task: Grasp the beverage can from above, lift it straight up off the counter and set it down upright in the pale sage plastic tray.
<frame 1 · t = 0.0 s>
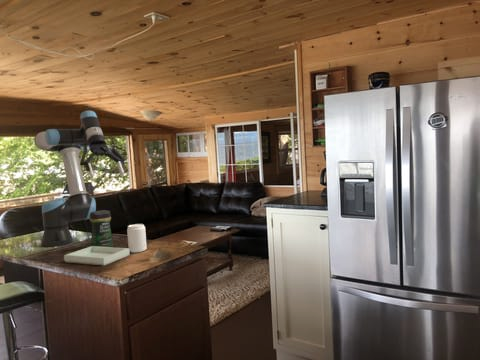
hand: (107, 175, 174), 36 cm above the countertop, tool tilted 35°, fingers open, 13 cm apart
tray: (97, 258, 171), on the countertop
beverage can: (137, 251, 181), on the countertop
coffee jar: (102, 248, 190), on the countertop
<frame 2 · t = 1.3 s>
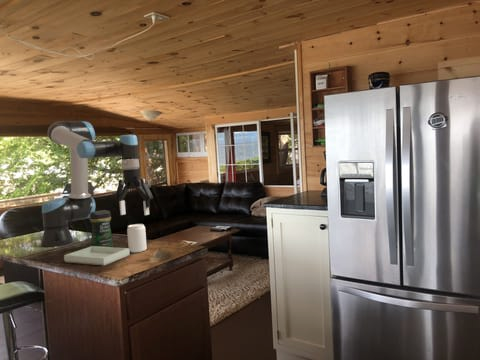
hand: (134, 214, 179), 17 cm above the countertop, tool pointing down, fingers open, 13 cm apart
nothing on the countertop moved.
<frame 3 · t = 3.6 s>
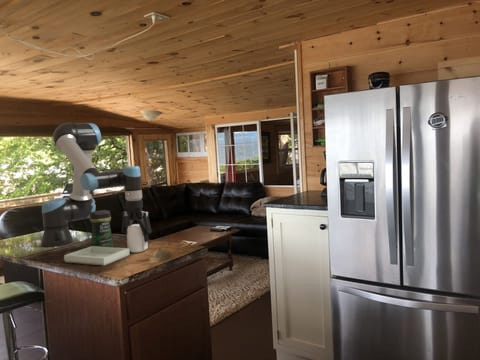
hand: (137, 248, 181), 1 cm above the countertop, tool pointing down, fingers closed on beverage can, 8 cm apart
beverage can: (137, 251, 181), on the countertop, touching gripper
everything else where it was.
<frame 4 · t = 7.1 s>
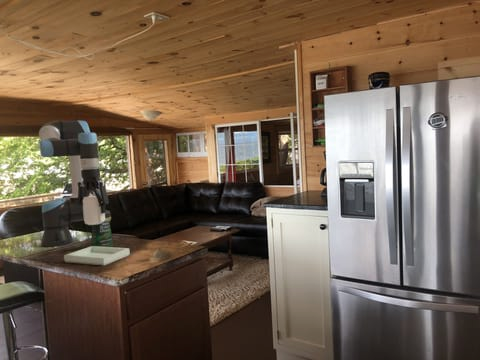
hand: (94, 220, 170), 17 cm above the countertop, tool pointing down, fingers closed on beverage can, 8 cm apart
beverage can: (94, 223, 170), point 15 cm above the countertop, touching gripper
everything else where it was.
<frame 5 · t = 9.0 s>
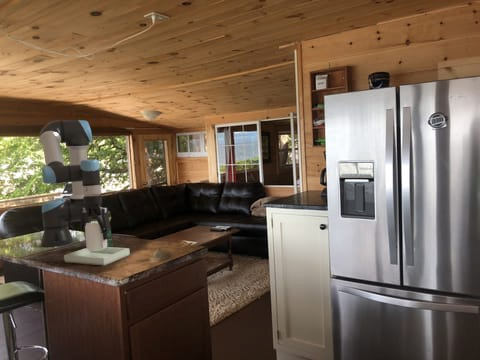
hand: (96, 246, 171), 5 cm above the countertop, tool pointing down, fingers closed on beverage can, 8 cm apart
beverage can: (97, 249, 171), point 4 cm above the countertop, touching gripper
everything else where it was.
when the fingers open (3 cm above the countertop, at t = 10.4 s): beverage can drops 1 cm, resting on tray.
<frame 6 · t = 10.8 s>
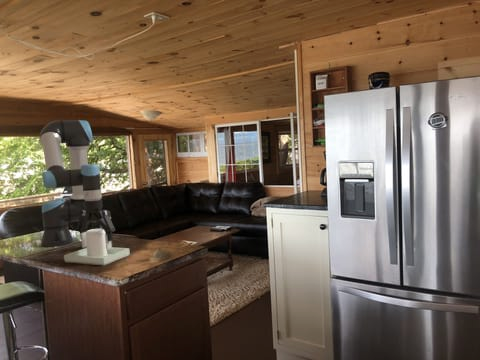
hand: (96, 247, 171), 5 cm above the countertop, tool pointing down, fingers open, 13 cm apart
beverage can: (97, 257, 171), resting on tray
everything else where it was.
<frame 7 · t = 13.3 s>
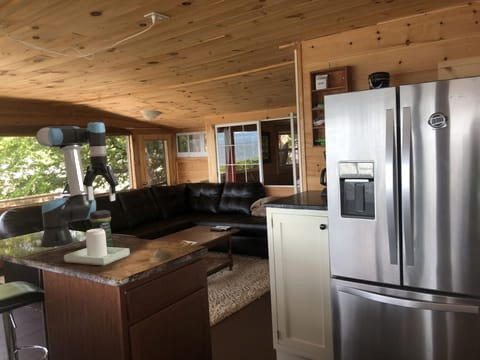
hand: (101, 200, 185), 24 cm above the countertop, tool pointing down, fingers open, 13 cm apart
nothing on the countertop moved.
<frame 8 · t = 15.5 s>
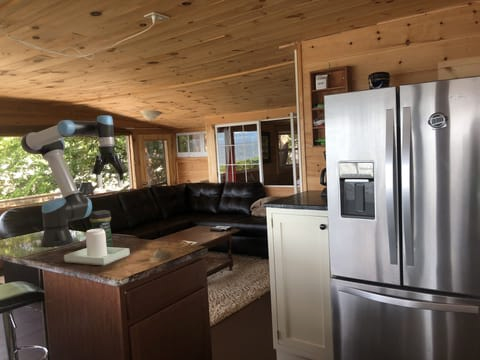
hand: (110, 187, 202), 29 cm above the countertop, tool pointing down, fingers open, 13 cm apart
nothing on the countertop moved.
at the end: beverage can inside the target area on the tray (0.1 cm from its centre), point 0.4 cm above the tray's base; beverage can tilted 0°; the gripper is holding nothing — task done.
